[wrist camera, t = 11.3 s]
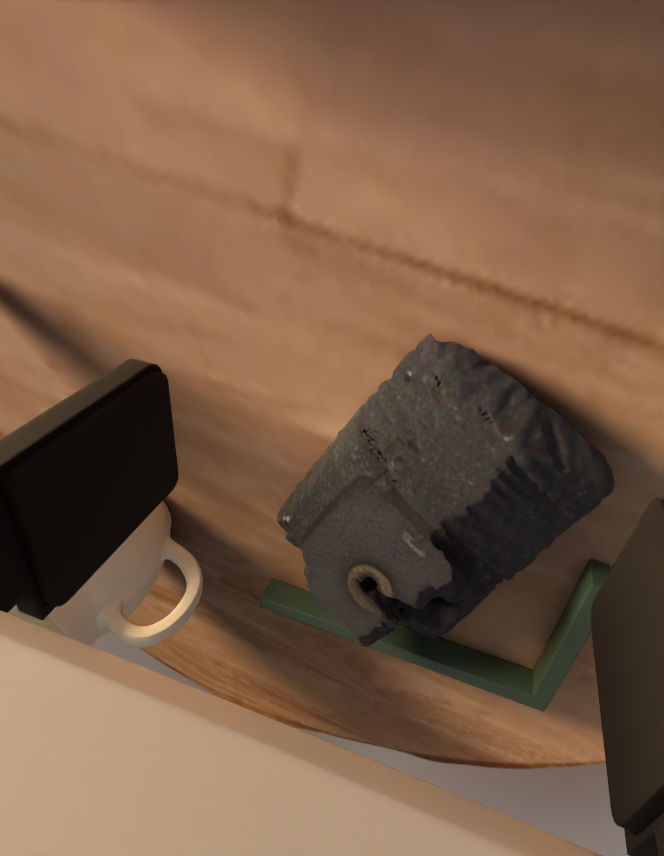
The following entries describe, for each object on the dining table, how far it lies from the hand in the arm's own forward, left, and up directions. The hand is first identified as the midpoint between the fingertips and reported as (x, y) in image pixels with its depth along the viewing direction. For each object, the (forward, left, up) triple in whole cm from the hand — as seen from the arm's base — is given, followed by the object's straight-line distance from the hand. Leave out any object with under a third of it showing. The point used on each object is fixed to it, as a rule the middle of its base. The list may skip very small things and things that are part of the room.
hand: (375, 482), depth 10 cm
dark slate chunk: (0, -16, -19) cm, 25 cm away
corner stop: (+1, -23, -19) cm, 30 cm away
